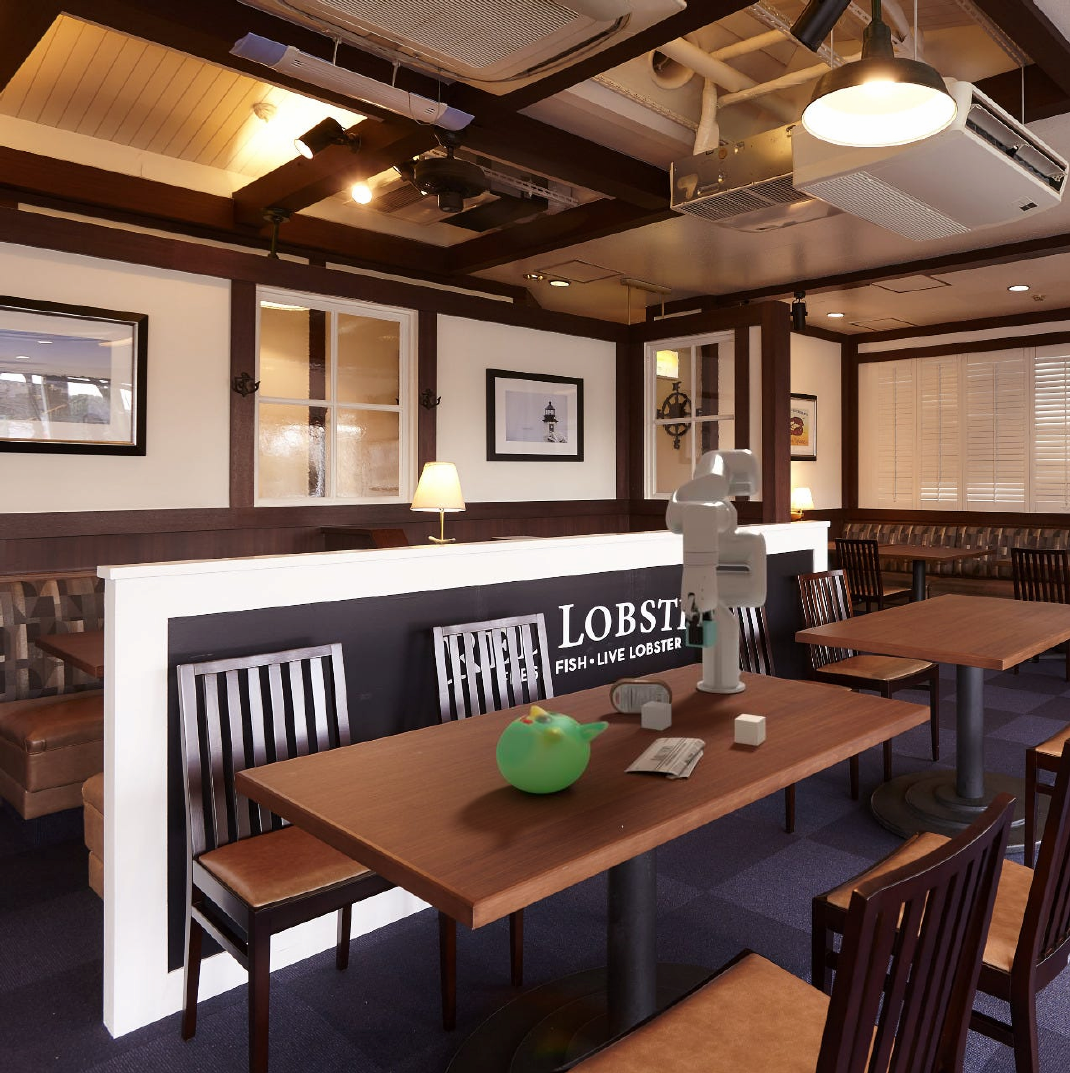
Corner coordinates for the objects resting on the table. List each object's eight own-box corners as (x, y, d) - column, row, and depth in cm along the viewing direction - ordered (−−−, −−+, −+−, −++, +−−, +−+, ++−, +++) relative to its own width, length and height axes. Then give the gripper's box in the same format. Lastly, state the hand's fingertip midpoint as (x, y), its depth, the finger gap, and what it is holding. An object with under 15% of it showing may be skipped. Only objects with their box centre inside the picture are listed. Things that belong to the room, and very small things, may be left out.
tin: (672, 712, 206) (672, 677, 205) (673, 715, 202) (672, 680, 202) (609, 711, 207) (609, 677, 207) (609, 715, 204) (609, 680, 203)
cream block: (742, 736, 185) (742, 713, 184) (765, 740, 182) (765, 717, 182) (734, 742, 181) (734, 719, 180) (757, 746, 178) (757, 722, 178)
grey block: (651, 722, 197) (651, 701, 197) (671, 725, 194) (671, 703, 194) (641, 727, 193) (641, 706, 193) (661, 730, 190) (661, 708, 190)
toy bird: (541, 767, 167) (540, 693, 166) (613, 785, 156) (612, 706, 155) (478, 794, 153) (476, 713, 152) (552, 815, 142) (551, 729, 141)
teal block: (695, 642, 190) (695, 619, 190) (716, 644, 187) (716, 621, 187) (685, 645, 186) (685, 623, 185) (707, 648, 183) (707, 624, 183)
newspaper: (687, 784, 157) (685, 771, 157) (625, 783, 162) (623, 770, 162) (715, 748, 178) (713, 736, 178) (658, 748, 183) (657, 736, 183)
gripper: (700, 556, 194) (700, 635, 195) (667, 562, 180) (668, 647, 181) (731, 557, 190) (731, 637, 191) (701, 563, 176) (701, 650, 177)
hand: (701, 641), depth 186 cm, fingers closed on teal block, 4 cm apart
